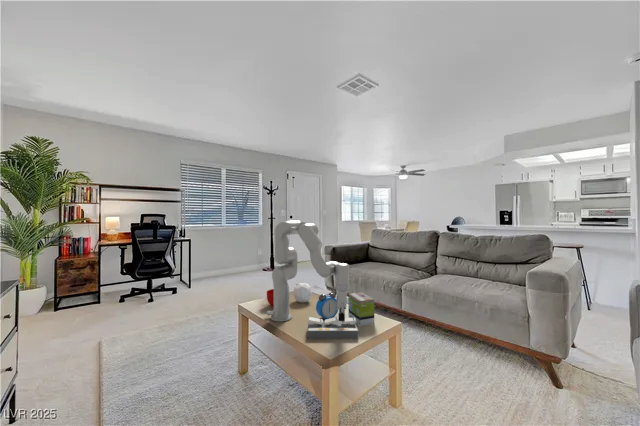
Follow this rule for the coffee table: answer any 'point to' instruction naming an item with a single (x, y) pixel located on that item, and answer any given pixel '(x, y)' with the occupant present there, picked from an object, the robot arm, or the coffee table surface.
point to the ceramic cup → (270, 297)
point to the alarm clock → (327, 306)
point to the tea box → (361, 308)
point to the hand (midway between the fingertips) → (341, 320)
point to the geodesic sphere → (302, 292)
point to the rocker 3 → (349, 320)
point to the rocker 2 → (331, 320)
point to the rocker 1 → (315, 320)
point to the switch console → (332, 331)
